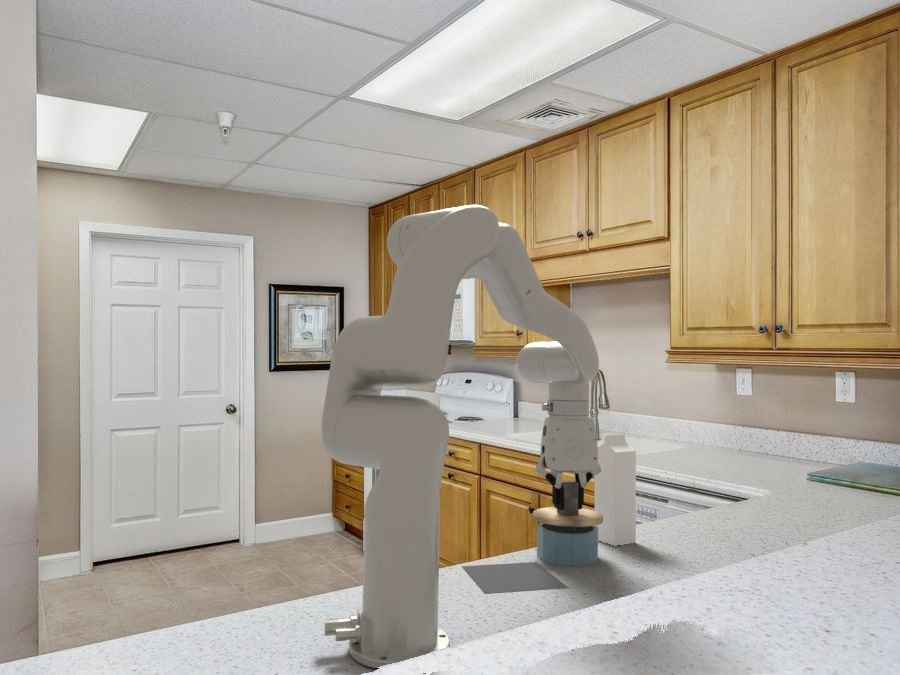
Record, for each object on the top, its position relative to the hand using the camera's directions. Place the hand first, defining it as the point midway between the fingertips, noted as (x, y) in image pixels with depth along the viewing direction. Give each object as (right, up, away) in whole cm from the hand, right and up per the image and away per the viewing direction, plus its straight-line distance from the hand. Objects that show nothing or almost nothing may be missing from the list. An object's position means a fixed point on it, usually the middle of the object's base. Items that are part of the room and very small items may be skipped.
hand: (568, 507), depth 122 cm
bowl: (0, -10, 0) cm, 10 cm away
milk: (+12, -11, +13) cm, 21 cm away
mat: (-12, -9, -12) cm, 19 cm away
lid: (0, -2, 0) cm, 2 cm away
